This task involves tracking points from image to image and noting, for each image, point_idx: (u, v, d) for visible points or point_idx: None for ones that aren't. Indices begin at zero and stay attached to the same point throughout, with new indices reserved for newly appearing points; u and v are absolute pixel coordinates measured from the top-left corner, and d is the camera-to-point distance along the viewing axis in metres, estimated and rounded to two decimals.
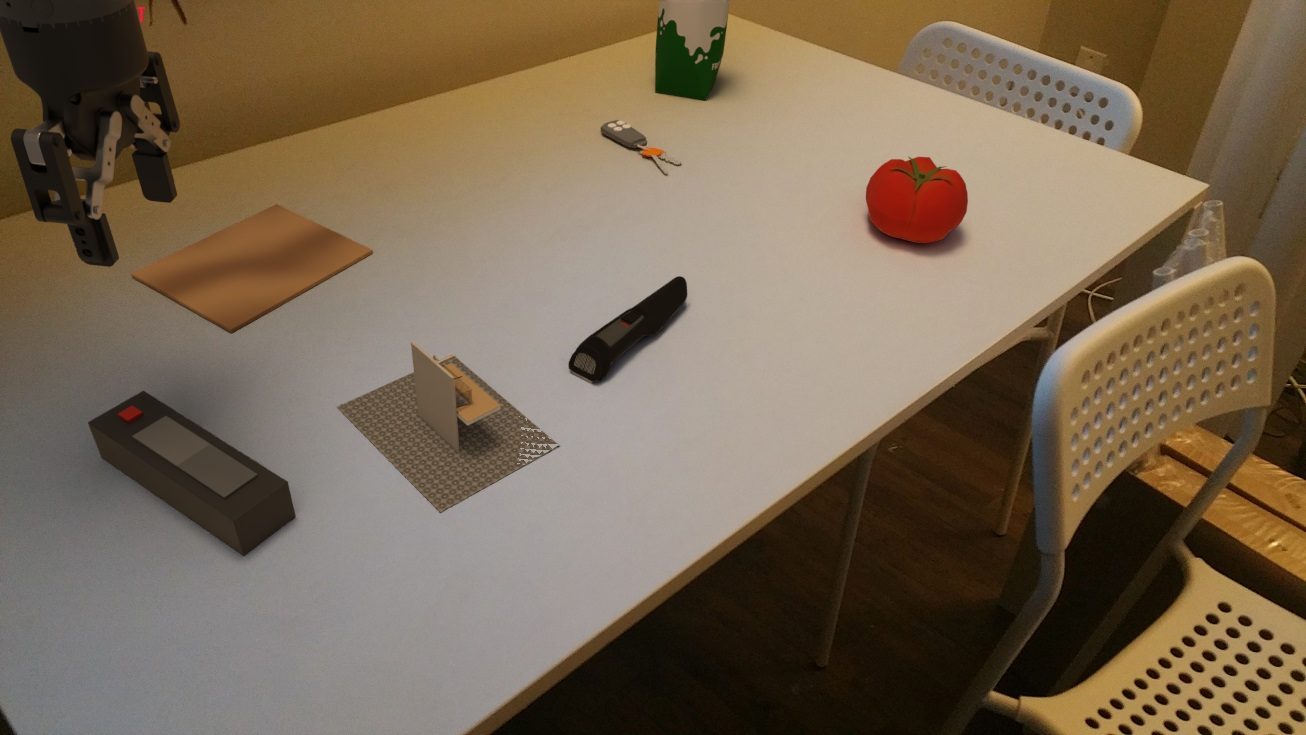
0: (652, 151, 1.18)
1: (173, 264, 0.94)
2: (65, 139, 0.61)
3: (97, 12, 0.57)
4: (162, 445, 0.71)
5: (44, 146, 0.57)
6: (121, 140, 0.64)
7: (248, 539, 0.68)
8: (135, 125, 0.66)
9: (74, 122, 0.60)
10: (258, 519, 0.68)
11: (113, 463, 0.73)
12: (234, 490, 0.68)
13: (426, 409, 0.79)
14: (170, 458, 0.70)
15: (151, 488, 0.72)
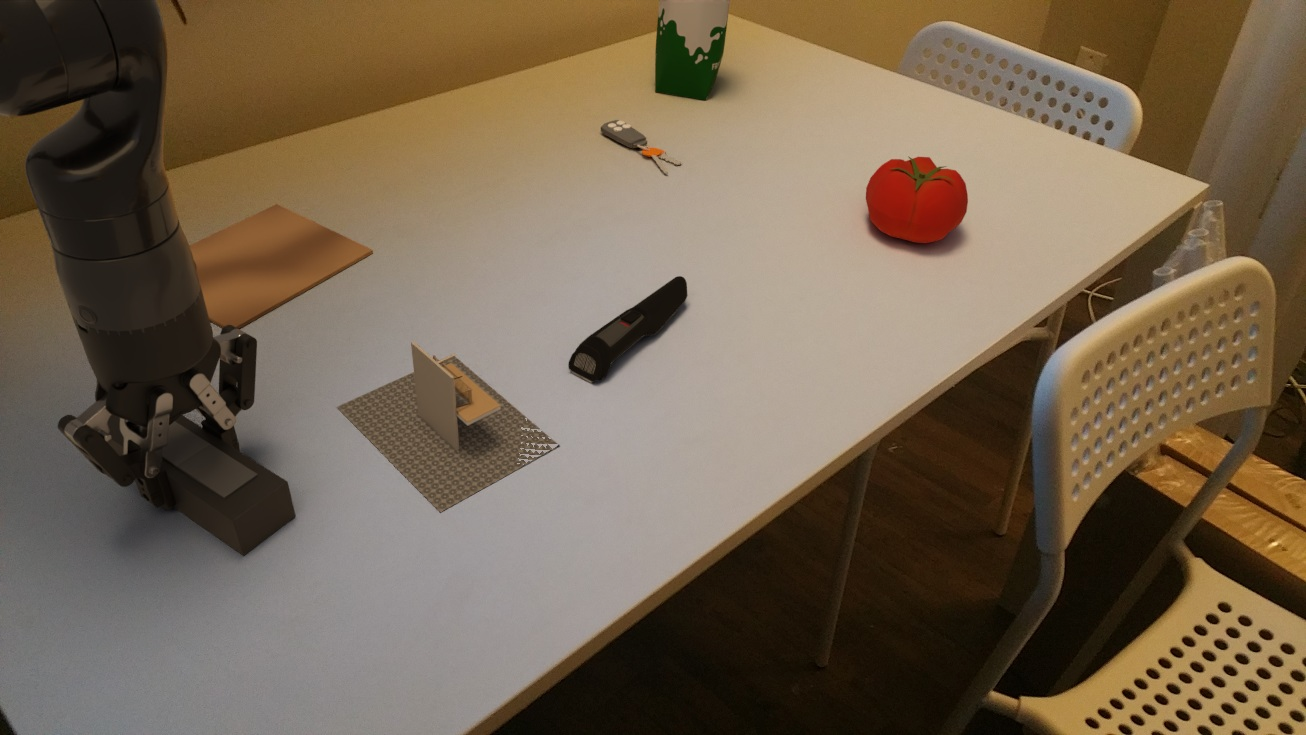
0: (652, 151, 1.18)
1: None
2: None
3: (138, 325, 0.59)
4: None
5: (78, 442, 0.62)
6: (179, 409, 0.67)
7: (248, 539, 0.68)
8: None
9: (115, 404, 0.63)
10: (258, 519, 0.68)
11: None
12: (234, 490, 0.68)
13: (426, 409, 0.79)
14: (170, 458, 0.70)
15: None
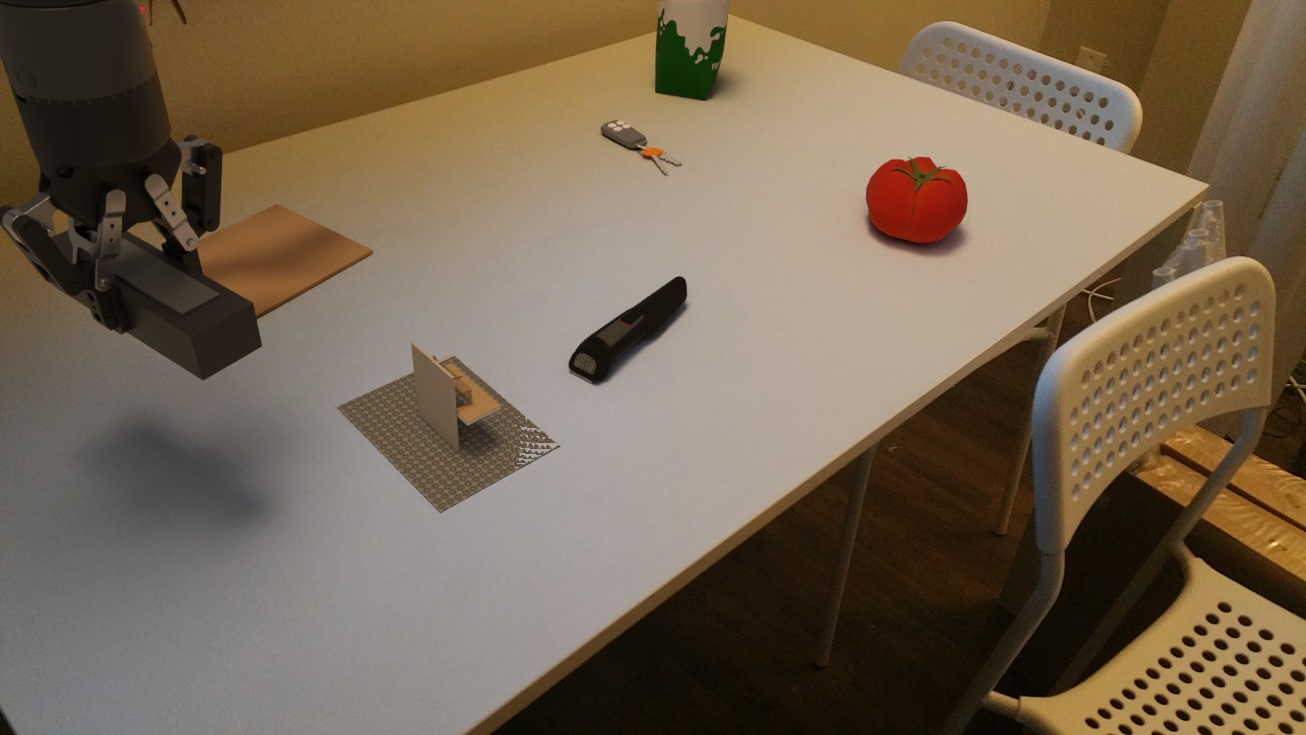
0: (652, 151, 1.18)
1: None
2: None
3: (82, 94, 0.53)
4: (117, 264, 0.64)
5: (16, 233, 0.56)
6: (133, 215, 0.61)
7: (208, 362, 0.62)
8: None
9: (59, 194, 0.57)
10: (220, 340, 0.62)
11: None
12: (193, 307, 0.62)
13: (426, 409, 0.79)
14: (125, 276, 0.64)
15: None
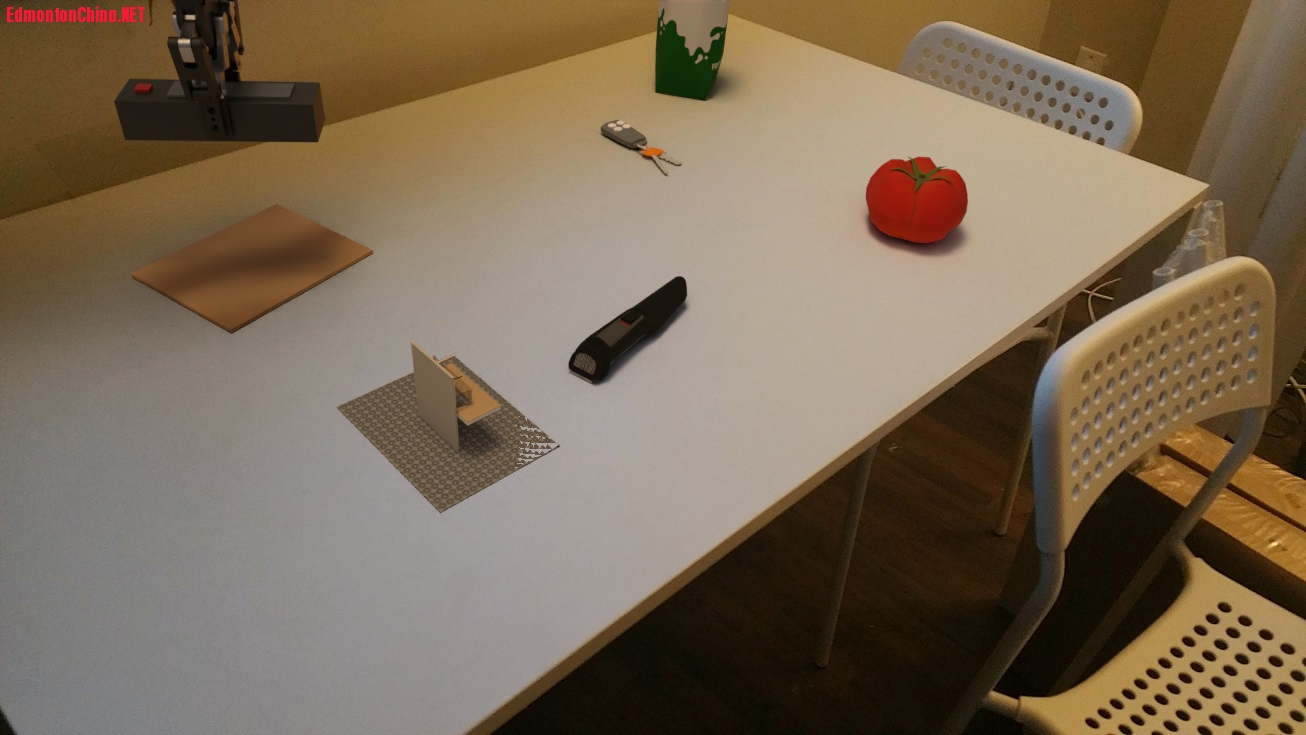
0: (652, 151, 1.18)
1: (173, 264, 0.94)
2: None
3: None
4: None
5: (195, 50, 0.76)
6: None
7: (317, 127, 0.87)
8: None
9: (202, 19, 0.77)
10: (317, 110, 0.87)
11: (144, 136, 0.84)
12: (290, 93, 0.85)
13: (426, 409, 0.79)
14: None
15: (199, 136, 0.85)
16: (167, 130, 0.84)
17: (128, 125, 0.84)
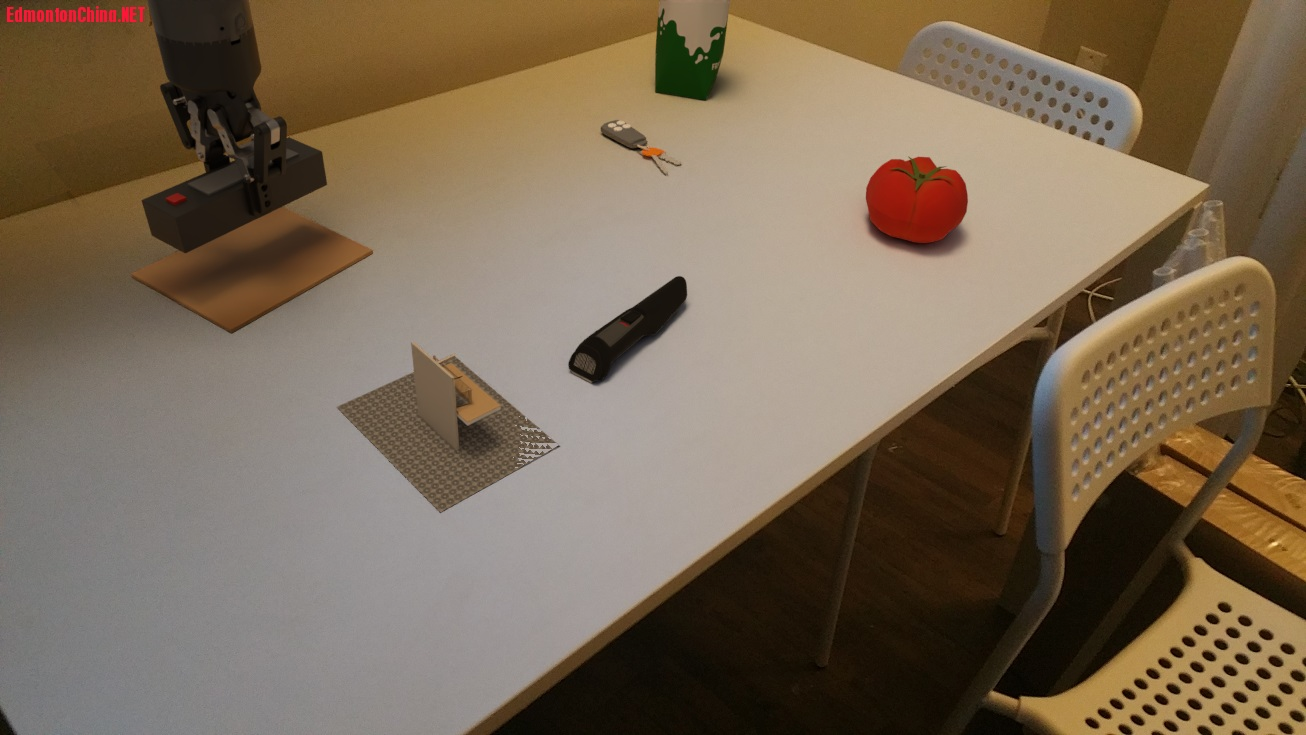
0: (652, 151, 1.18)
1: (173, 264, 0.94)
2: None
3: None
4: (226, 180, 0.88)
5: (282, 128, 0.83)
6: None
7: None
8: None
9: (258, 103, 0.84)
10: None
11: (200, 242, 0.86)
12: (292, 151, 0.93)
13: (426, 409, 0.79)
14: None
15: (243, 220, 0.89)
16: (218, 227, 0.87)
17: (187, 237, 0.85)
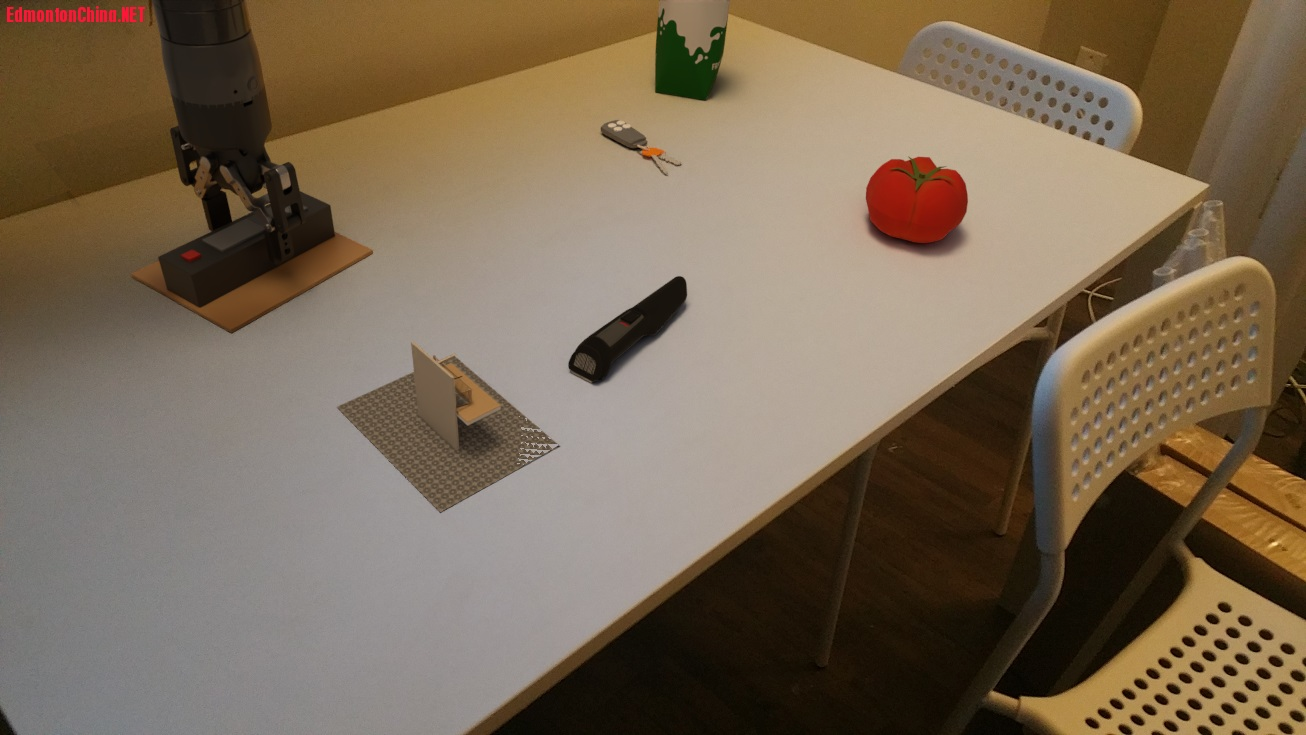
0: (652, 151, 1.18)
1: None
2: None
3: None
4: (239, 236, 0.91)
5: (291, 172, 0.86)
6: None
7: None
8: None
9: (269, 159, 0.87)
10: None
11: (214, 296, 0.90)
12: None
13: (426, 409, 0.79)
14: (256, 231, 0.92)
15: (254, 274, 0.93)
16: (231, 281, 0.91)
17: (202, 292, 0.88)
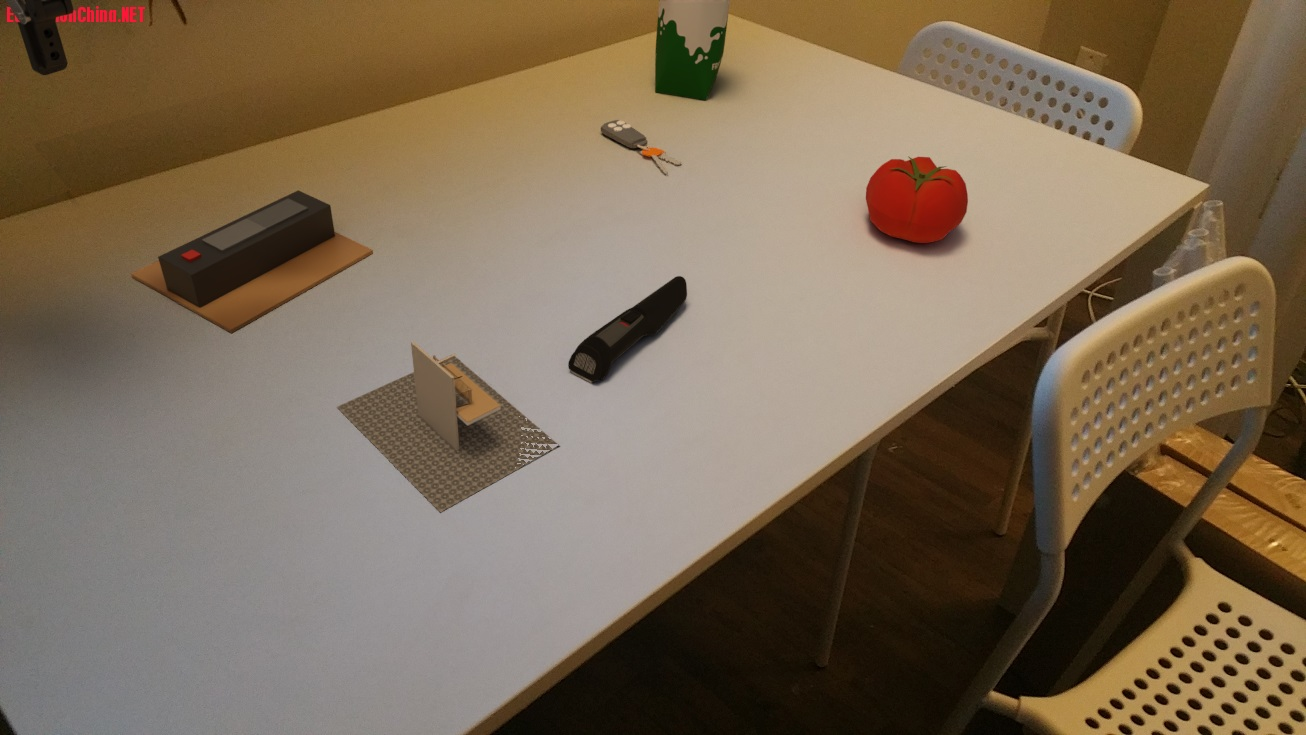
0: (652, 151, 1.18)
1: None
2: None
3: None
4: (239, 236, 0.91)
5: None
6: None
7: None
8: None
9: None
10: None
11: (214, 296, 0.90)
12: (301, 205, 0.97)
13: (426, 409, 0.79)
14: (256, 231, 0.92)
15: (254, 274, 0.93)
16: (231, 281, 0.91)
17: (202, 292, 0.88)
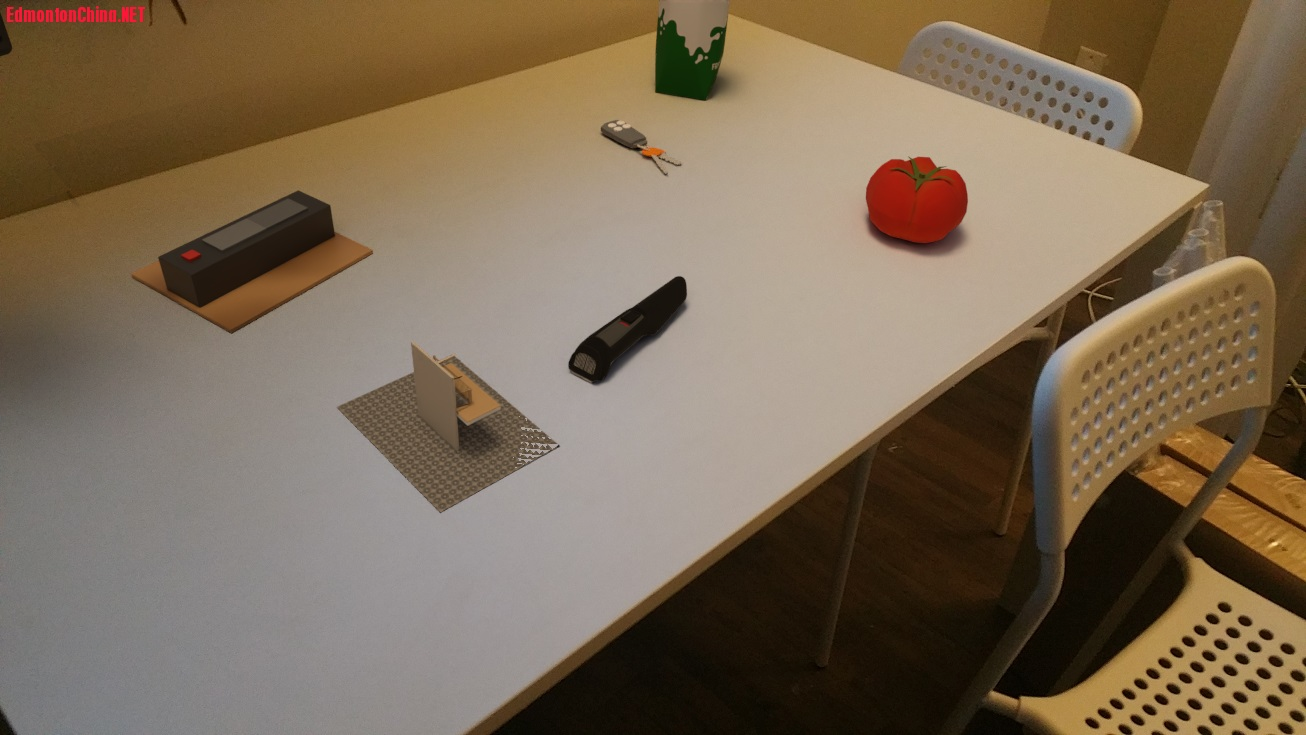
0: (652, 151, 1.18)
1: None
2: None
3: None
4: (239, 236, 0.91)
5: None
6: None
7: None
8: None
9: None
10: None
11: (214, 296, 0.90)
12: (301, 205, 0.97)
13: (426, 409, 0.79)
14: (256, 231, 0.92)
15: (254, 274, 0.93)
16: (231, 281, 0.91)
17: (202, 292, 0.88)
